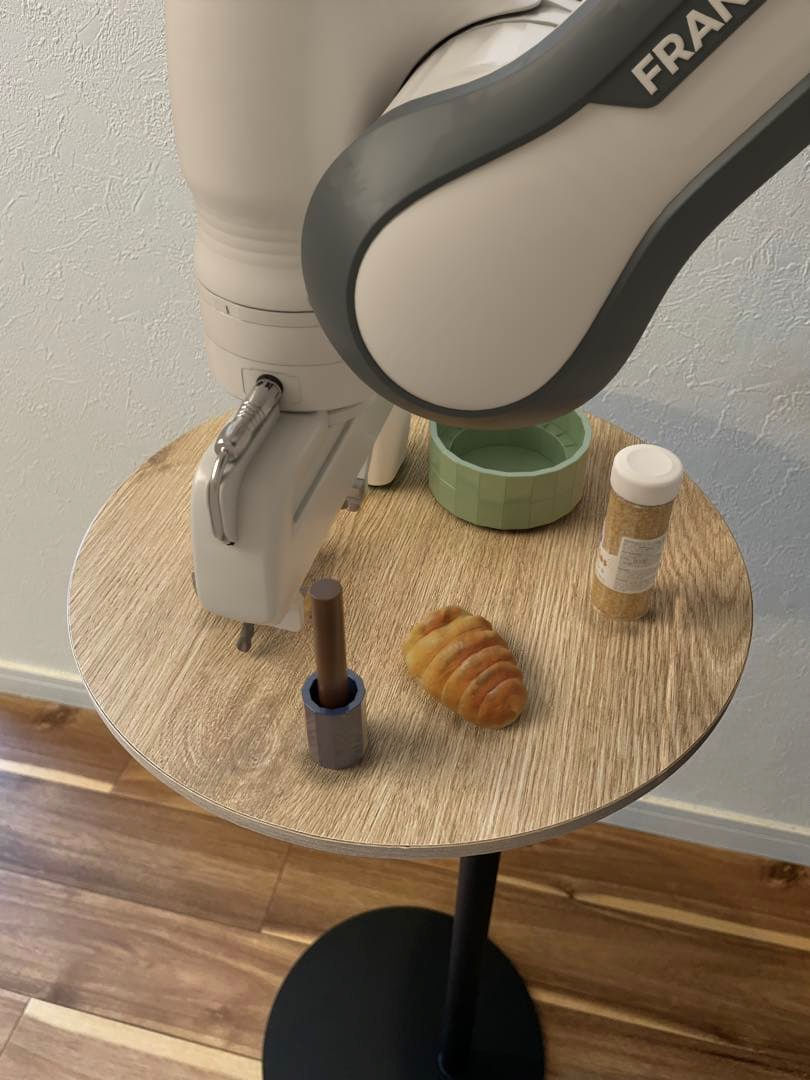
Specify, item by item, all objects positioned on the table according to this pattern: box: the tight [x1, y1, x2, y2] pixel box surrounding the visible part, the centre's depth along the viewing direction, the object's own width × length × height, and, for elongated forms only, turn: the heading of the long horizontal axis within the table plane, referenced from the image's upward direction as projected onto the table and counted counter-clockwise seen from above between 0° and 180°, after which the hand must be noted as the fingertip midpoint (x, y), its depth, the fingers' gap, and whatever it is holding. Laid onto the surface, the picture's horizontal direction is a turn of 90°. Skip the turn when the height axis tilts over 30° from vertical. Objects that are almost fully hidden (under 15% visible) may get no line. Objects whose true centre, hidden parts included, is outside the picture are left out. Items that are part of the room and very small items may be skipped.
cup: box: [368, 405, 413, 487], centre depth 80 cm, size 7×7×15 cm
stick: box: [309, 577, 349, 710], centre depth 57 cm, size 2×2×14 cm
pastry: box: [401, 604, 529, 730], centre depth 65 cm, size 9×7×4 cm
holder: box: [300, 667, 369, 770], centre depth 60 cm, size 4×4×6 cm
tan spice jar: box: [588, 443, 684, 623], centre depth 68 cm, size 5×5×13 cm
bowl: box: [427, 407, 594, 530], centre depth 81 cm, size 13×13×6 cm
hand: (321, 557), depth 51 cm, fingers open, 8 cm apart
